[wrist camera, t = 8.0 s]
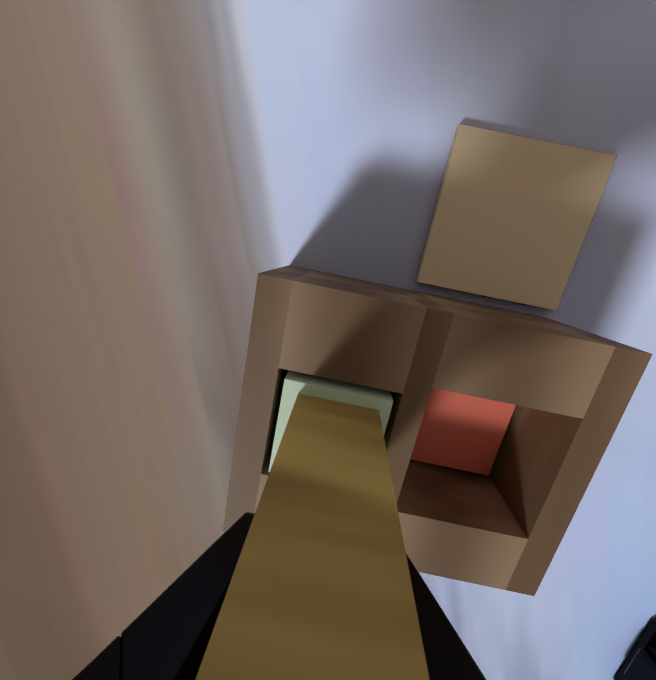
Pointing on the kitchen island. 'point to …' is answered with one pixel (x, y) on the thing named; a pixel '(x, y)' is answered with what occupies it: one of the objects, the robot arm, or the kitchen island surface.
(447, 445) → the plunger
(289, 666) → the square wooden peg
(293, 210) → the kitchen island surface
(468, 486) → the block
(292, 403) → the on button
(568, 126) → the kitchen island surface
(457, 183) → the pad
